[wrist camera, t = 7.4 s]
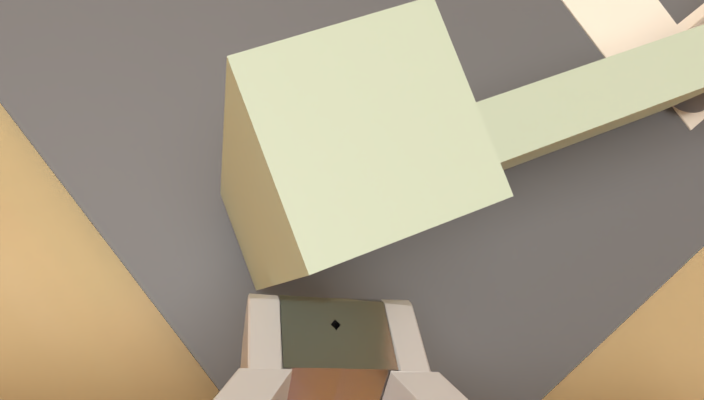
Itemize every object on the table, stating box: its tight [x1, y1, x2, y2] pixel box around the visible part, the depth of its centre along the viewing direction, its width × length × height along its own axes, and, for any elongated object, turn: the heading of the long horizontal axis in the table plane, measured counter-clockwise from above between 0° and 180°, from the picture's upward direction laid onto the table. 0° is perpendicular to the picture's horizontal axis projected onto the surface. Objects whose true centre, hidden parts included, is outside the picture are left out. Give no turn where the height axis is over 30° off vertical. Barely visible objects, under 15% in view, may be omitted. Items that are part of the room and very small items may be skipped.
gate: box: [220, 0, 704, 291], centre depth 13 cm, size 14×2×9 cm, turn 111°
